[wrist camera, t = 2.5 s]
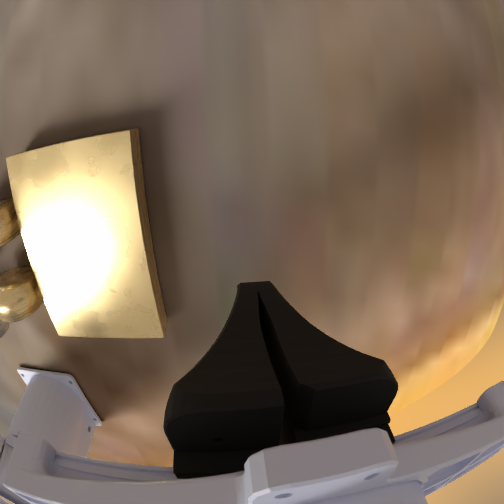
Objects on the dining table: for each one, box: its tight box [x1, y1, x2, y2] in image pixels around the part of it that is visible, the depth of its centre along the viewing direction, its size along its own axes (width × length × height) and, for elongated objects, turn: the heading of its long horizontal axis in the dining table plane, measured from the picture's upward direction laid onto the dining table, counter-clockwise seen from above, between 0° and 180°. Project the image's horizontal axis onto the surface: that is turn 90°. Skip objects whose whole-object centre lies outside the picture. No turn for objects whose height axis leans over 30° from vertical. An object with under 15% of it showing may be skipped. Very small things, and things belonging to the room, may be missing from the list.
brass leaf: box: [0, 128, 167, 338], centre depth 17 cm, size 14×14×4 cm
